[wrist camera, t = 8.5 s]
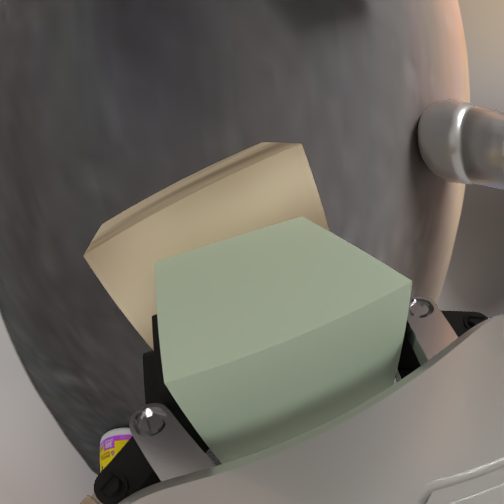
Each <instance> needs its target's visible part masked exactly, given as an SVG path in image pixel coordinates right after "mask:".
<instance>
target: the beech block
mask: <svg viewBox="0 0 504 504" xmlns="http://www.w3.org/2000/svg"><path fill="white" fill-rule="evenodd" d="M301 216H302V217H304V218H306V219H308V220H310V221H312V222H313V223H315V224H317V225H319V226H321V227H322V228H324V229H326V230H328V231H329V232H330V230H329V227H328V223H327V220H326V217H325V213H324V210H323V207H322V203H321V200H320V197H319V194H318V191H317V187H316V184H315V181H314V178H313V175H312V172H311V169H310V166H309V163H308V160H307V157H306V155H305V152H304V149H303V146H302V143H277V142H262V143H259V144H257V145H255V146H252V147H250V148H248V149H245V150H243V151H241V152H239V153H236V154H234V155H232V156H230V157H227V158H225V159H223V160H221V161H219V162H217V163H215V164H212V165H210V166H208V167H206V168H204V169H202V170H200V171H198V172H196V173H194V174H192V175H190V176H188V177H186V178H184V179H182V180H180V181H178V182H176V183H174V184H172V185H170V186H168V187H167V188H165V189H163V190H161V191H159V192H157V193H155V194H154V195H152V196H150V197H148V198H146V199H144V200H143V201H141V202H139V203H137V204H136V205H134V206H132V207H130V208H129V209H127V210H125V211H123V212H122V213H120V214H118V215H117V216H115V217H113V218H112V219H110V220H108V221H107V222H105V223H103V224H102V225H101V227H100V228H99V230H98V231H97V233H96V235H95V236H94V238H93V240H92V241H91V243H90V245H89V247H88V248H87V250H86V252H85V254H84V255H83V256H84V258H85V259H86V261H87V262H88V264H89V265H90V267H91V269H92V270H93V272H94V273H95V275H96V276H97V277H98V279H99V280H100V282H101V283H102V285H103V286H104V288H105V289H106V290H107V292H108V293H109V295H110V296H111V297H112V299H113V300H114V301H115V303H116V304H117V306H118V307H119V308H120V310H121V311H122V312H123V314H124V315H125V316H126V317H127V319H128V320H129V321H130V323H131V324H132V325H133V326H134V328H135V329H136V330H137V331H138V333H139V334H140V335H141V336H142V338H143V339H144V340H145V341H146V342H147V344H148V345H149V346H150V347H151V348H152V350H153V351H154V348H153V333H152V316H153V315H156V314H157V306H156V289H155V265H154V262H157V261H160V260H163V259H166V258H169V257H172V256H175V255H178V254H181V253H184V252H188V251H191V250H194V249H197V248H200V247H203V246H206V245H210V244H213V243H216V242H219V241H222V240H226V239H229V238H232V237H235V236H239V235H242V234H245V233H248V232H252V231H255V230H258V229H261V228H265V227H268V226H271V225H275V224H278V223H281V222H285V221H288V220H291V219H295V218H298V217H301Z"/></svg>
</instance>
